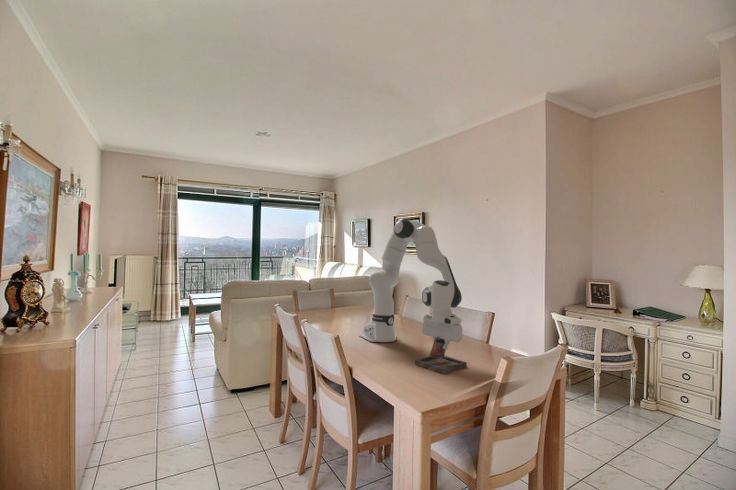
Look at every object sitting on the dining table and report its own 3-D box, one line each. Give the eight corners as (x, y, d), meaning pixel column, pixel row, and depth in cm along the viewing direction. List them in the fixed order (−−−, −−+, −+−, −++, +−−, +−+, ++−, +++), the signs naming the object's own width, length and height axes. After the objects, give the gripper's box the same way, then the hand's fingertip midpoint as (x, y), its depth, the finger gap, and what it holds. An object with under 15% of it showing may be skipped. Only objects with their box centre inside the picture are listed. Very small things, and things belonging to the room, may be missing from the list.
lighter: (432, 358, 155) (438, 338, 153) (427, 354, 158) (433, 334, 156) (445, 357, 159) (452, 337, 157) (441, 353, 162) (447, 333, 160)
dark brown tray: (415, 364, 158) (415, 360, 158) (438, 358, 168) (438, 353, 168) (443, 374, 145) (443, 369, 145) (466, 366, 156) (466, 362, 156)
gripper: (419, 314, 163) (419, 344, 163) (455, 321, 148) (455, 354, 147) (428, 313, 167) (427, 342, 167) (464, 319, 152) (464, 352, 151)
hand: (441, 348), depth 157 cm, fingers closed on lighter, 3 cm apart
